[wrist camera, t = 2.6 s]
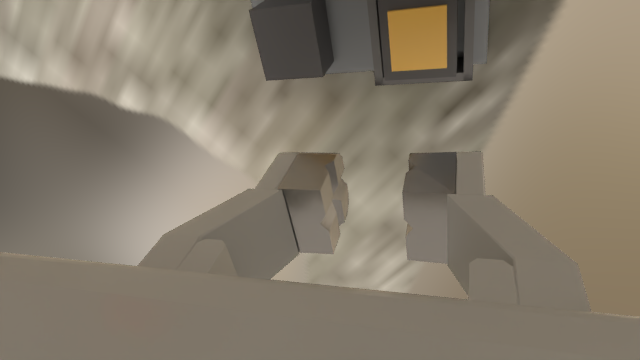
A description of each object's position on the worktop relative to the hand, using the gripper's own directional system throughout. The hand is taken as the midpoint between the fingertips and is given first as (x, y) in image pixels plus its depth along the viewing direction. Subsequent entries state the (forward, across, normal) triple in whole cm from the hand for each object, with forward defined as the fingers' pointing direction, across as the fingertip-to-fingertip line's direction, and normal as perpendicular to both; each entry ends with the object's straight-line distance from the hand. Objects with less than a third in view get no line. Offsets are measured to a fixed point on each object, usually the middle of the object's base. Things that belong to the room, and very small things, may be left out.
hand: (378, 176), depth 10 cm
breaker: (+13, 0, 0) cm, 13 cm away
